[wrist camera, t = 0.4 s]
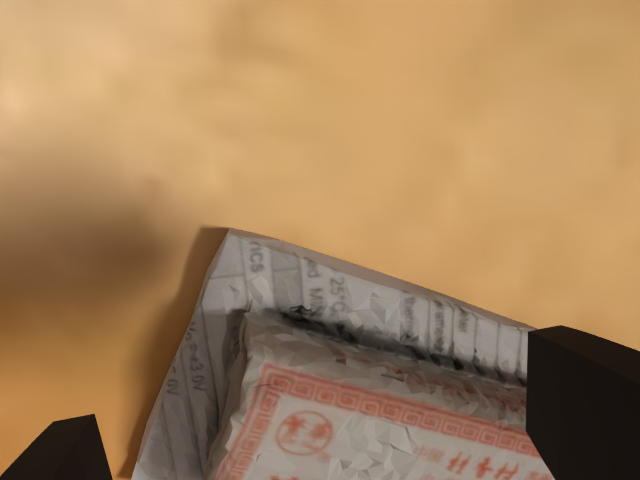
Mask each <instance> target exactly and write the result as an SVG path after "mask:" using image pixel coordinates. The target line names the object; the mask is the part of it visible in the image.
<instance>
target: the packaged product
mask: <svg viewBox="0 0 640 480" xmlns="http://www.w3.org/2000/svg"><path fill="white" fill-rule="evenodd" d="M534 330H539V329H537V328H534V327H532V326H529V325H527V324H524V323H521V322H517V321H514V320H512V319H509V318H506V317H504V316H501V315H498V314H495V313H493V312H490V311H487V310H484V309H482V308H479V307H476V306H474V305H471V304H468V303H466V302H463V301H460V300H458V299H455V298H453V297H450V296H447V295H444V294H441V293H439V292H436V291H433V290H430V289H427V288H424V287H421V286H418V285H416V284H413V283H410V282H407V281H404V280H401V279H398V278H395V277H392V276H389V275H387V274H384V273H381V272H377V271H374V270H371V269H368V268H365V267H362V266H359V265H356V264H352V263H349V262H346V261H343V260H340V259H337V258H334V257H331V256H327V255H324V254H321V253H318V252H315V251H312V250H309V249H306V248H302V247H299V246H296V245H293V244H290V243H287V242H284V241H280V240H277V239H273V238H270V237H266V236H262V235H259V234H255V233H252V232H247V231H243V230H238V229H234V228H229V230H228V232H227V234H226V235H225V237H224V239H223V241H222V243H221V245H220V247H219V249H218V250H217V252H216V254H215V256H214V258H213V260H212V262H211V264H210V265H209V267H208V269H207V272H206V275H205V278H204V281H203V284H202V288H201V291H200V294H199V297H198V300H197V303H196V306H195V309H194V312H193V315H192V318H191V321H190V324H189V326H188V328H187V330H186V332H185V335H184V337H183V339H182V341H181V343H180V346H179V348H178V350H177V352H176V355H175V357H174V359H173V361H172V363H171V366H170V368H169V370H168V373H167V375H166V377H165V380H164V382H163V385H162V387H161V389H160V392H159V394H158V397H157V399H156V401H155V404H154V406H153V409H152V411H151V413H150V416H149V418H148V421H147V423H146V427H145V431H144V435H143V438H142V442H141V446H140V450H139V453H138V457H137V461H136V464H135V468H134V471H133V475H132V478H131V480H555V479H554V477H553V476H552V474H551V472H550V471H549V469H548V468H547V466H546V464H545V463H544V461H543V460H542V458H541V456H540V455H539V453H538V451H537V449H536V448H535V446H534V444H533V443H532V441H531V439H530V437H529V436H528V434H527V432H526V391H527V350H528V331H534Z"/></svg>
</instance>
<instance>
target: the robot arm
mask: <svg viewBox="0 0 640 480" xmlns="http://www.w3.org/2000/svg"><path fill="white" fill-rule="evenodd" d="M526 432H527V434H528V436H529V437H530V439H531V441H532V443H533V444H534V446H535V448H536V449H537V451H538V453H539V455H540V456H541V458H542V460H543V461H544V463H545V464H546V466H547V468H548V469H549V471H550V472H551V474H552V476H553V477H554V479H555V480H640V351H637V350H635V349H632V348H629V347H626V346H624V345H621V344H618V343H615V342H612V341H610V340H607V339H604V338H601V337H598V336H595V335H592V334H589V333H586V332H583V331H580V330H577V329H573V328H569V327H565V326H561V325H560V326H555V327H549V328H544V329H539V330H534V331H528V350H527V391H526ZM0 480H113V479H112V476H111V472H110V468H109V465H108V461H107V457H106V454H105V450H104V447H103V443H102V439H101V436H100V432H99V428H98V425H97V421H96V418H95V414H91V415H86V416H81V417H76V418H70V419H65V420H60V421H54V422H53V423H52V424H50V425H49V426H48V427H47V428H46V429H45V430H44V431H43V432H42V433H41V434H40V435H39V436H38V437H37V438H36V439H35V440H34V441H33V442H32V443H31V444H30V445H29V447H28V448H27V449H26V450H25V451H24V452H23V453H22V454H21V455H20V456H19V457H18V458H17V459H16V460H15V461H14V462H13V463H12V464H11V465H10V467H9V468H8V469H7V470H6V471H5V472H4V473H3V474H2V475H1V476H0Z"/></svg>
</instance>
